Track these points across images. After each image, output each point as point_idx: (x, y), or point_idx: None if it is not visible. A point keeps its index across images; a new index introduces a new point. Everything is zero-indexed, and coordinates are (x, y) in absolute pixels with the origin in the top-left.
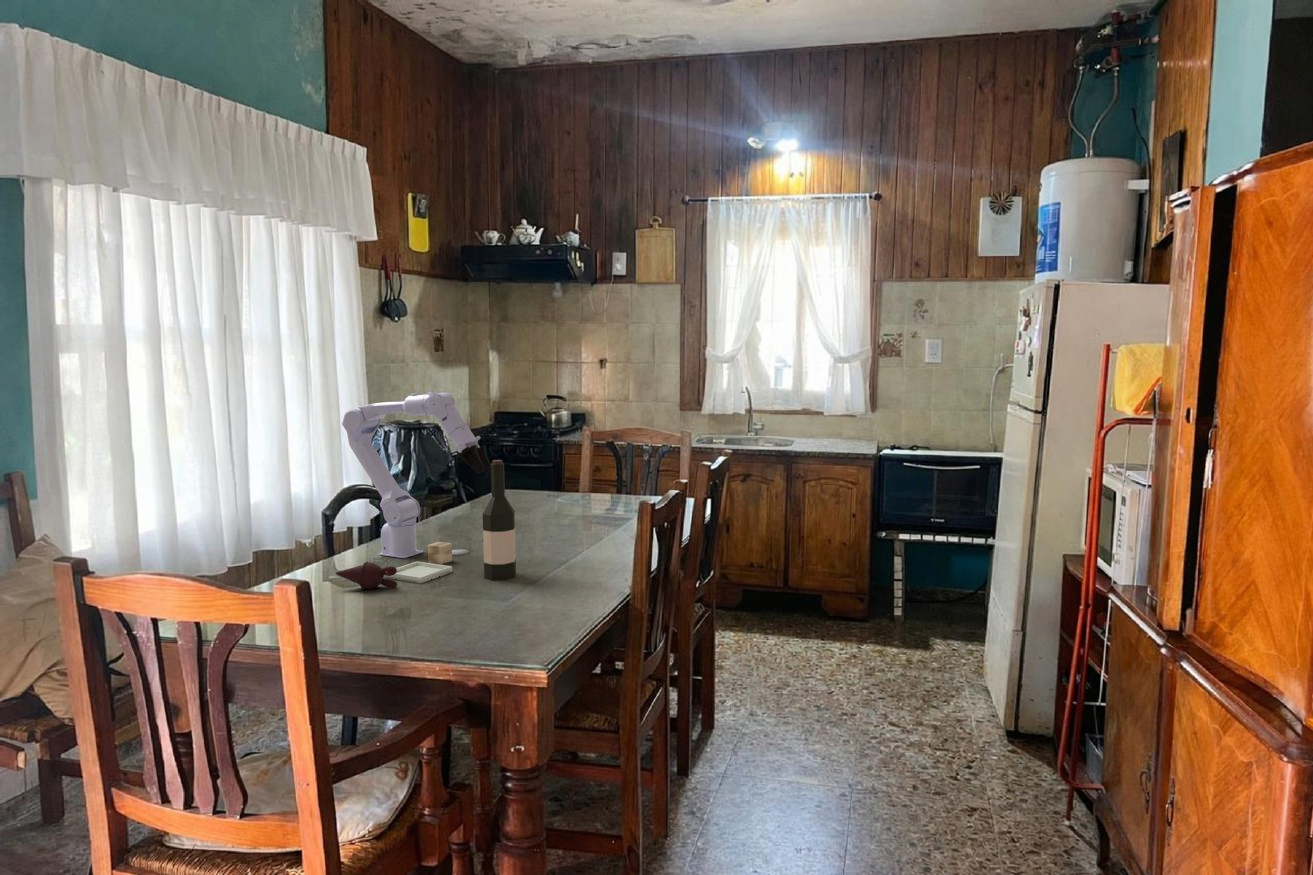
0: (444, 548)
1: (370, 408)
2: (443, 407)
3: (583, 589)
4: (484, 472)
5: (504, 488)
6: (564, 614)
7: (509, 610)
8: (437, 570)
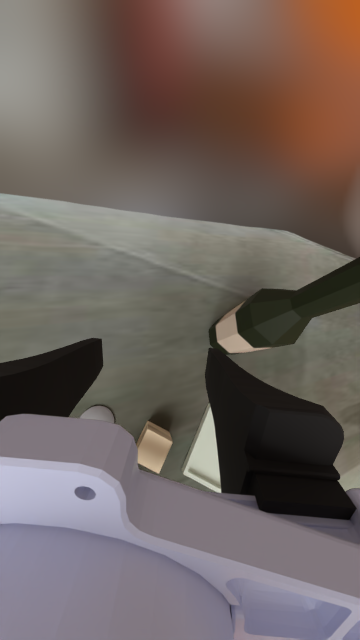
0: (163, 435)
1: None
2: None
3: (264, 256)
4: (100, 370)
5: (311, 283)
6: (327, 272)
7: (327, 314)
8: (213, 424)
